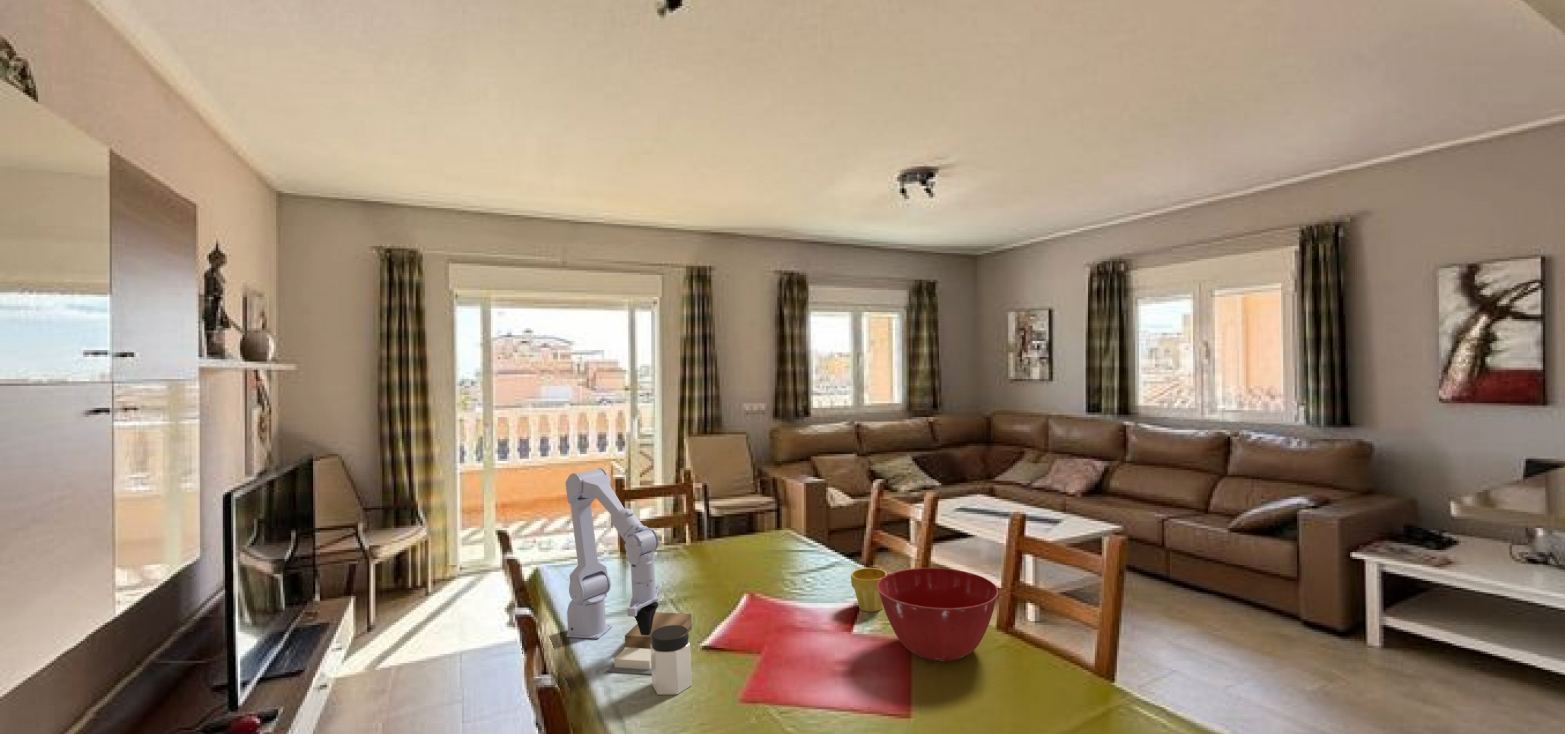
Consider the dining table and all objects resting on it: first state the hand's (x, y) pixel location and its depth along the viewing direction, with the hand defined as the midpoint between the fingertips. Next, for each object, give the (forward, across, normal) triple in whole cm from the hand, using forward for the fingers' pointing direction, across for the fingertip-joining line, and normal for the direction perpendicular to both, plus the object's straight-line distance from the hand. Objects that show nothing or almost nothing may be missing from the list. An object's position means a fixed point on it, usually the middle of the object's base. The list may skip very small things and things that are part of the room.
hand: (645, 633), depth 158 cm
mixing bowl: (+5, +12, -71) cm, 72 cm away
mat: (+5, -5, 0) cm, 7 cm away
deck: (+5, +8, 0) cm, 9 cm away
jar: (+5, -14, -12) cm, 19 cm away
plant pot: (+5, +35, -52) cm, 63 cm away
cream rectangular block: (+3, -5, 0) cm, 6 cm away
